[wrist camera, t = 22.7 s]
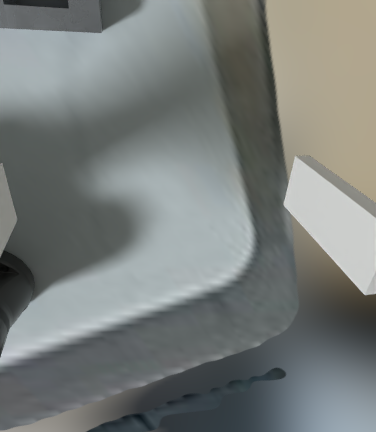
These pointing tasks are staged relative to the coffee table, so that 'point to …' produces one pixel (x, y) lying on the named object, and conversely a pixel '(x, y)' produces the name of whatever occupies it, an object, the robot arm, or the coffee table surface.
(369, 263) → the robot arm
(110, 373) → the coffee table surface
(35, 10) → the socket block
